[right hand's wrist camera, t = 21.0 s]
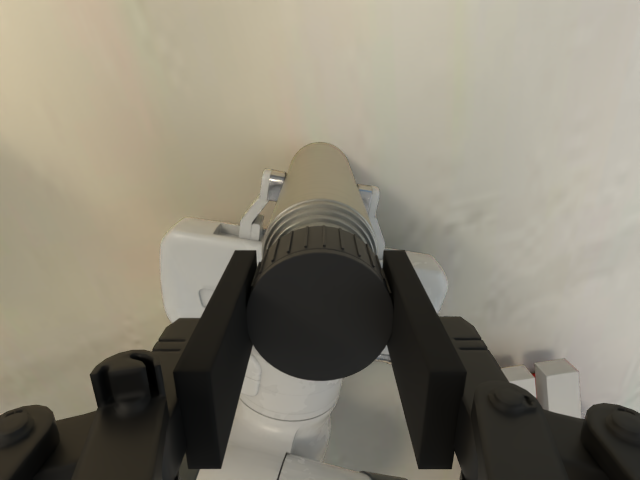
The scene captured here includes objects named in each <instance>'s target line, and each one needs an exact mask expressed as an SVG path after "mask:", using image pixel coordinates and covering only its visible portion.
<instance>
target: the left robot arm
mask: <svg viewBox="0 0 640 480" xmlns="http://www.w3.org/2000/svg"><path fill="white" fill-rule="evenodd" d="M285 178H286V172H282V171H277V170H272V169H265V170H264V171H263V176H262V182H261V190H260V194H259V196H258V197H257V198H256V199H255V201H254V202H253V203H252V205H251V206H250V207H249V208H248V210H247V211H246V212H245V214H244V216H243V217H242V219H241V221H240V225H238V224H231V223H225V222H218V221H212V220H206V219H199V218H193V217H185V218H183V219H181V220H180V221H179V222H177V223H176V224H175V225H174V226H172V227H171V228H170V229H169V230H168V231H167V232H166V234H165V235H164V236H163V238H162V241H161V244H160V281H161V291H162V299H163V305H164V309H165V312H166V315H167V317H168V319H169V320H170V322H171V323H173V322H175V321H176V320H177V319H179V318H201V316H202V314H203V312H204V310H205V308H206V306H207V304H208V302H209V300H210V298H211V296H212V294H213V292H214V290H215V288H216V286H217V284H218V282H219V280H220V279H221V277H222V275H223V273H224V271H225V269H226V267H227V265H228V263H229V261H230V259H231V257H232V255H233V253H234V251H235V250H256V254H257V266H258V263H259V262H261V260H262V252H261V250H262V242H263V238H264V235H265V232H266V230H267V229H263V223H264V216H263V215H259V213H260V212H261V211H262V209H263V208H264V207H265V205H266V204H267V203H268V202H269V201H276V202H277V200H278V197H279V194H280V192H281V189H282V186H283V184H284V181H285ZM357 187H358V190H359V192H360V195H361V198H362V200H363V203H364V206H365V209H366V211H367V214H368V217H369V219H370V222H371V225H372V228H373V230H374V233H375V236H376V239H377V243H378V258H379V261H380V264H381V267H382V266H383V250H398V249H391V248H385V241H384V238H383V235H382V232H381V229H380V226H379V223H378V220H377V218H376V210H377V206H378V201H379V197H380V190H379V188H378V187H374V186H368V185H362V184H357ZM405 252H406V254H407V256H408V258H409V260H410V261H411V263H412V265H413V267H414V269H415V271H416V273H417V275H418V277H419V279H420V281H421V283H422V285H423V287H424V289H425V291H426V293H427V295H428V297H429V299H430V301H431V302H432V304H433V306H434V308H435V310H436V312H437V314H438V313H439V311H440V308H441V306H442V304H443V301H444V298H445V296H446V293H447V290H448V279H447V277H446V275H445V273H444V271H443V269H442V268H441V266H440V265H439V263H438V262H437V261H436V259H435V258H434V257H433V256H431V255H429V254H423V253H417V252H410V251H405ZM374 361H379V362H386V363H387V364H392V363H391V360H390V356H389V352H388V348H387V345H386V347H385V349H384V350H383V351H382V353H381V354H380V355H379V356H378V357H377V358H376V359H375V360H374ZM342 381H343V378H341V379H336V380H329V381H310V380H304V379H299V378H295V377H292V376H289V375H287V374H285V373H283V372H281V371H279V370H277V369H276V368H274V367H273V366H271V365H270V364H269V363H268V362H266V361H265V360H264V359H263V358H262V357H261V355H260V354H259V353H258V352H257V350H256V349H255V347H254V345H253V347H252V351H251V355H250V359H249V362H248V366H247V370H246V374H245V378H244V382H243V386H242V390H241V394H240V398H239V401H238V405H237V409H236V413H235V417H234V421H233V425H232V429H231V433H230V437H229V440H228V444H227V448H226V452H225V456H224V460H223V464H222V468H221V469H188V465H187V459H186V453H185V454H184V457H183V460H182V463H181V465H180V468H179V475H180V480H407V479H406V478H401V477H394V476H388V475H382V474H376V473H371V472H365V471H361V472H357V471H353V470H349V469H345V468H342V467H338V466H334V465H330V464H327V463H323V460H324V457H325V453H326V450H327V446H328V442H329V438H330V433H331V419H330V413H331V412H332V410H333V409H334V407H335V405H336V403H337V401H338V398H339V395H340V390H341V386H342Z"/></svg>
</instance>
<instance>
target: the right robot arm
mask: <svg viewBox="0 0 640 480" xmlns="http://www.w3.org/2000/svg"><path fill="white" fill-rule="evenodd" d="M382 268H383V270H384V272H385V275H386V278H387V281H388V284H389V287H390V290H391V293H392V295H390V296H391V299H392V303H393V307H394V311H393V325H392V334H391V337H390V339H389V341H388V343H387V348H388V352H389V356H390V360H391V363H392V367H393V371H394V375H395V379H396V383H397V387H398V391H399V395H400V399H401V402H402V406H403V410H404V414H405V418H406V422H407V426H408V430H409V434H410V438H411V441H412V445H413V449H414V453H415V457H416V461H417V465H418V469H452V464H453V457H454V451H455V453H456V456H457V459H458V461H459V464H460V467H461V475H460V480H640V413H638V412H636V411H634V410H632V409H629V408H626V407H623V406H620V405H615V404H607V403H602V404H596V405H593V406H592V407H590V408H589V409H588V410H587V413H586V416H585V419H581V418H576V417H572V416H568V415H563V414H559V413H555V412H551V411H548V410H545V409H543V408H542V406H541V405H540V403H539V401H538V400H537V398H536V397H534V396H533V395H532V394H531V393H530V392H528V391H527V390H526V389H524V388H522V387H520V386H518V385H516V384H513V383H510V382H509V381H508V379H507V378H506V376H505V375H504V373H503V371H502V370H501V368H500V367H499V365H498V364H497V362H496V360H495V359H494V357H493V356H492V354H491V353H490V351H489V350H487V346H486V345H485V343H484V342H483V340H481V337H480V335H479V334H478V332H477V331H476V329H475V327H474V326H473V325H471V324H470V323H468V322H467V321H466V320H464V319H463V318H462V317H439V316H438V314H437V312H436V310H435V308H434V306H433V304H432V302H431V301H430V299H429V297H428V295H427V293H426V291H425V289H424V287H423V285H422V283H421V281H420V279H419V277H418V275H417V273H416V271H415V269H414V267H413V265H412V263H411V261H410V260H409V258H408V256H407V254H406V252H405V250H383V266H382ZM256 269H257V254H256V250H235V251H234V253H233V255H232V257H231V259H230V261H229V263H228V265H227V267H226V269H225V271H224V273H223V275H222V277H221V279H220V280H219V282H218V284H217V286H216V288H215V290H214V292H213V294H212V296H211V298H210V300H209V302H208V304H207V306H206V308H205V310H204V312H203V314H202V316H201V318H179V319H177V320H176V321H175V322H173V323H172V324H170V325H169V326H168V327H166V329H165V330H164V332H163V333H162V335H161V337H160V338H159V341H158V342H157V343H156V344H155V346H154V348H153V351H151V352H150V351H147V350H130V351H126V352H122V353H118V354H116V355H114V356H111V357H109V358H107V359H105V360H104V361H103V362H101V363H100V364H98V365H97V366H96V367H95V368H94V370H93V371H92V372H91V374H90V377H91V381H92V386H93V390H94V394H95V398H96V402H97V406H98V409H97V411H94V412H91V413H87V414H84V415H79V416H75V417H71V418H66V419H62V420H58V421H55V417H54V414H53V412H52V411H51V410H50V409H49V408H48V407H46V406H40V405H31V406H23V407H20V408H17V409H14V410H11V411H8V412H6V413H4V414H2V415H0V480H180V475H179V468H180V465H181V463H182V460H183V457H184V454H185V453H186V459H187V465H188V469H221V468H222V464H223V460H224V456H225V452H226V448H227V444H228V440H229V437H230V433H231V429H232V425H233V421H234V417H235V413H236V409H237V405H238V401H239V398H240V394H241V390H242V386H243V382H244V378H245V374H246V370H247V366H248V362H249V359H250V355H251V351H252V347H253V344H252V342H251V340H250V337H249V335H248V328H247V315H246V306H247V302H248V298H249V295H250V292H251V289H252V288H250V286H251V284H252V281H253V278H254V275H255V272H256Z"/></svg>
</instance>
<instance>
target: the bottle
mask: <svg viewBox="0 0 640 480" xmlns="http://www.w3.org/2000/svg"><path fill="white" fill-rule="evenodd" d="M323 225H325V226H329V227H335V228H341V229H342V230H345V231H347V232H350V233H352V234H353V235H354V234H356V236H357V237H358V238H360V239H361V240H362V241H364V242H365V243H366V244H367V243H368V244H369V247H370V249H371V250H372V251H373V252H374V254H375V255H377V256H378V243H377V239H376V236H375V233H374V230H373V228H372V225H371V222H370V219H369V217H368V214H367V211H366V209H365V206H364V203H363V200H362V198H361V195H360V192H359V190H358V187H357V184H356V181H355V179H354V176H353V173H352V171H351V168H350V165H349V162H348V160H347V158H346V156H345V155H344V154H343V152H342V151H341V150H339V149H338V148H337V147H335V146H333V145H331V144H328V143H323V142H318V143H312V144H309V145H306V146H305V147H303V148H302V149H300V150H299V151H298V152H297V153H296V155H295V156H294V158H293V160H292V162H291V165H290V167H289V170H288V173H287V175H286V178H285V181H284V184H283V186H282V189H281V192H280V194H279V197H278V200H277V203H276V205H275V208H274V211H273V213H272V216H271V219H270V222H269V224H268V227H267V230H266V232H265V235H264V238H263V242H262V250H261V252H262V259H263V257H264V255H265V252H266V250H267V249H269V248H270V247H271V246H272V245H273V244H274V243H275V242H276V240H277V239H278V238H279V239H280V238H281V237H283V236H285V235H286V234H288V233H290V231H292V230H293V231H295V230H297V229H301V228H305V227H306V226H309V227H311V226H323Z"/></svg>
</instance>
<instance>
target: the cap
mask: <svg viewBox="0 0 640 480" xmlns="http://www.w3.org/2000/svg"><path fill="white" fill-rule="evenodd" d="M250 288H252V289H251V292H250V295H249V298H248V302H247V306H246V315H247V328H248V335H249V337H250V340H251V342H252V344H253V345H254V347H255V349H256V350H257V352H258V353H259V354H260V355H261V357H262V358H263V359H264V360H265V361H266V362H268V363H269V364H270V365H271V366H273V367H274V368H276V369H277V370H279V371H281V372H283V373H285V374H287V375H289V376H292V377H295V378H299V379H304V380H310V381H329V380H336V379H341V378H344V377H347V376H350V375H353V374H355V373H357V372H359V371H361V370H362V369H364V368H366V367H367V366H368V365H370V364H371V363H372V362H373V361H374V360H375V359H376V358H377V357H378V356H379V355H380V354H381V353H382V351H383V350H384V349H385V347H386V345H387V343H388V341H389V339H390V337H391V334H392V325H393V311H394V307H393V303H392V299H391V296H390V295H392V293H391V290H390V287H389V284H388V281H387V278H386V275H385V272H384V270H383V268H382V267H381V264H380V261H379V258H378V256H377V255H375V254H374V252H373V251H372V250H371V249H370V247H369V244H368V243H367V244H366V243H365V242H364V241H362V240H361V239H360V238H358V237H357V236H356V234H354V235H353V234H352V233H350V232H347V231H345V230H342V229H341V228H335V227H329V226H325V225H323V226H311V227H309V226H306V227H305V228H301V229H297V230H295V231H293V230H292V231H290V233H288V234H286V235H285V236H283V237H281V238H280V239H279V238H278V239H277V240H276V242H275V243H274V244H273V245H272V246H271V247H270V248H269V249H267V250H266V252H265V255H264V257H263V259H262V260H261V262H259V263H258V266H257V269H256V272H255V275H254V278H253V281H252V284H251V286H250Z"/></svg>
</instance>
